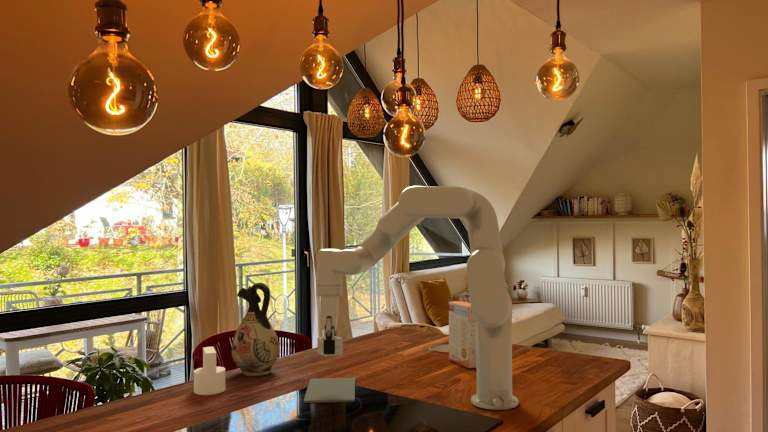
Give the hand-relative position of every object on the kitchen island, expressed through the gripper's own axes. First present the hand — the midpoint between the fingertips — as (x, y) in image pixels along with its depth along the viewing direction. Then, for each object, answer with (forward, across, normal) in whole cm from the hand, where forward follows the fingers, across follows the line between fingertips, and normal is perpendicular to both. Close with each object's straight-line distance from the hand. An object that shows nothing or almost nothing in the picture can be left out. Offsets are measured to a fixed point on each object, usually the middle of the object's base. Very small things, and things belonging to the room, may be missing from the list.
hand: (329, 350), depth 172 cm
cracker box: (+12, -28, +45) cm, 54 cm away
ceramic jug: (+12, -21, -25) cm, 35 cm away
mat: (+12, 0, 0) cm, 12 cm away
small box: (+1, 0, 0) cm, 1 cm away
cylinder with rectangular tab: (+12, -3, -36) cm, 38 cm away
